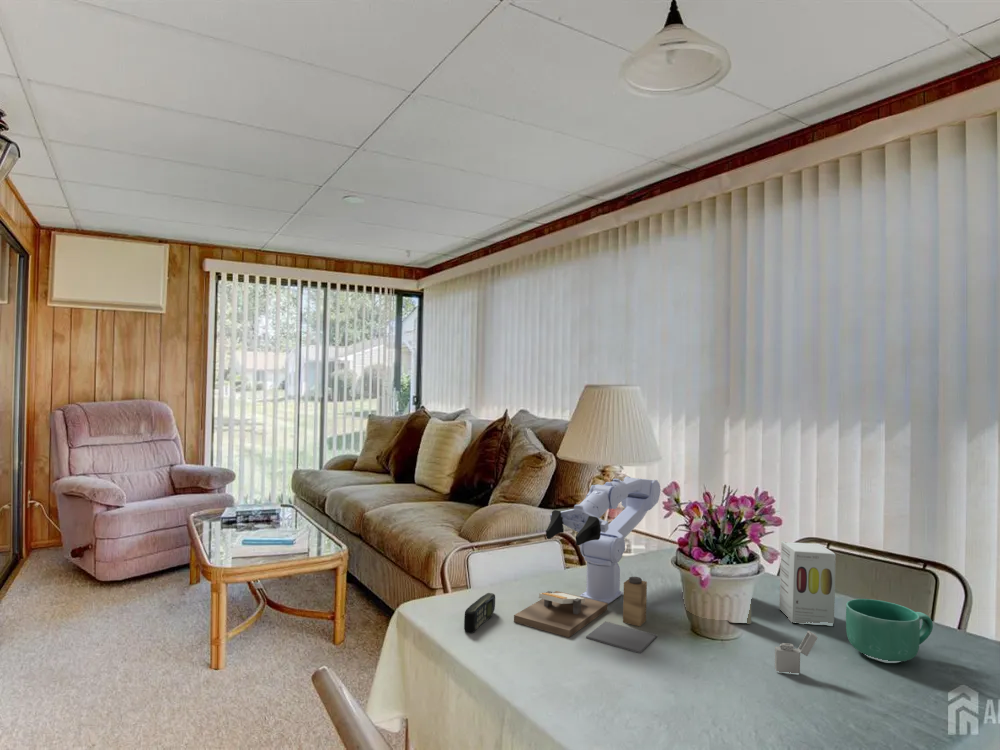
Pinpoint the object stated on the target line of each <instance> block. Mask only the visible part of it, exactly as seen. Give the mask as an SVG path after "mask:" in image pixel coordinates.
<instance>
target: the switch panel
mask: <svg viewBox="0 0 1000 750" xmlns="http://www.w3.org/2000/svg"><path fill="white" fill-rule="evenodd" d="M545 593H565V594H569V595H573V596H577V597H580V595H575V594H573V593H572V594H571V593H566V592H562V591H559V590H555V591H554V592H553V591H550V590H548V591H546V592H545ZM581 598H584V597H581ZM608 605H609V604H608V603H605V602H601V601H596V600H592V599H588V598H585V603H581V599H580V598H576V599H575V600H573V603H570V604H560V603H557V602H553V601H549V600H545V599H541V598H540V600H537V601H536V602H535V603H532V604H531V605H529V606H527V607H525V608H524V609H522V610H521V611H518V612H517V613H515V614H514V615H513V622H514V623H517V624H521V625H524V626H527V627H531V628H534V629H538V630H541V631H545V632H548V633H552V634H555V635H557V636H558V635H559V636H562V637H566V638H571V637H573V635H575V634H576V633H578V632H579V631H580V630H582V629H583V628H585V627H586V626H587V625H589V624H590V623H591V622H592V621H594V620H595V619H597V618H598V617H600V616H601V615H602V614H604V613H605V612H606V611H608Z"/></svg>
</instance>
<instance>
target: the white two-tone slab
mask: <svg viewBox="0 0 1000 750" xmlns="http://www.w3.org/2000/svg"><path fill="white" fill-rule="evenodd" d="M565 593H566V592H563V593H554V592H552V593H546V592H541V593H538V599H540V600H541V599H545V600H549V601H553V602H557V603H560V604H570V603H573V600H575V599H576V598H580V599H581V603H585V598H581V597H577V596H578V595H576V596H573V595H574V594H572V595H569V594H570V593H567V594H565Z"/></svg>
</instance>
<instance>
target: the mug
mask: <svg viewBox="0 0 1000 750" xmlns="http://www.w3.org/2000/svg"><path fill="white" fill-rule="evenodd" d="M920 620H921V621H922V623H921V625H920V622H921V621H920ZM920 626H921V627H920ZM933 628H934V623H933V621H932V619H931V617H930V616H929V615H927V614H926V613H924V612H921V611H914V610H913V609H911V608H909V607H906V606H904V605H900V604H897V603H894V602H890V601H885V600H879V599H872V598H871V599H869V598H854V599H850V600H848V601H847V602H846V603H845V629H846V630H845V631H846V636H847V640H848V641H849V644H850V645H851V646H852V647H853V648H854V649H855V650H856V651H858V652H859V653H861V654H862V653H863V654H866V655H868V656H871V657H874V658H878V659H882V660H888V661H904V662H907V660H908V661H910V660H912V659H913V658H915V657H916V655H917V654H918V652H919V648H920V645H921V644H922V643H924V642H925V641H927V639H928V638H929V637H930V635H931V634H932V632H933ZM863 654H862V655H863Z"/></svg>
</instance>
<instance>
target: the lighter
mask: <svg viewBox="0 0 1000 750" xmlns="http://www.w3.org/2000/svg"><path fill="white" fill-rule="evenodd" d="M818 639H819V638H818V636H817V635H816V634H815V633H813V632H812V631H810V630H807V632H806V634H805V635H804V637H803V638H802V641H801V642H800V644H799V646H798V648H794V644H793V643H785V642H782V643H780V644H779V646H774V670H775V669H776V671H779V672H789V673H790V672H791V673H800V674H801V654H802V655H804V656H806V657H808V656H809V654H810V652H811V651H812V649H813V647H814V645H815V644H816V642H817V640H818ZM776 671H775V672H776Z"/></svg>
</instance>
